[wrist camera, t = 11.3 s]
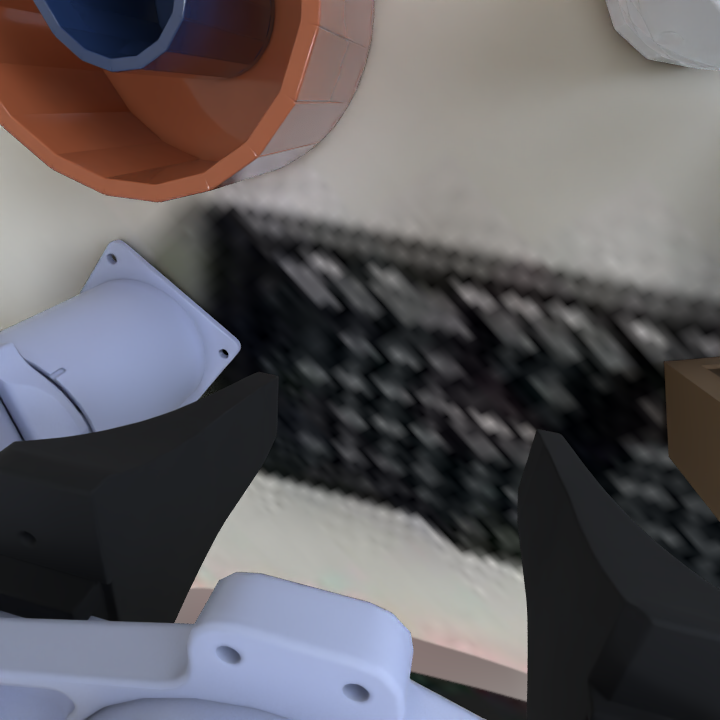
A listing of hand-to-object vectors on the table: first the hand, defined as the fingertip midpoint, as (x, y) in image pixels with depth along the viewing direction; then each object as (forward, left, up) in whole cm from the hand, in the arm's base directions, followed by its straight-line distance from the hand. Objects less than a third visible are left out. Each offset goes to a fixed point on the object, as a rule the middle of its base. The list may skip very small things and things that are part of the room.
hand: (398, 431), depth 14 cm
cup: (+3, +14, -10) cm, 17 cm away
